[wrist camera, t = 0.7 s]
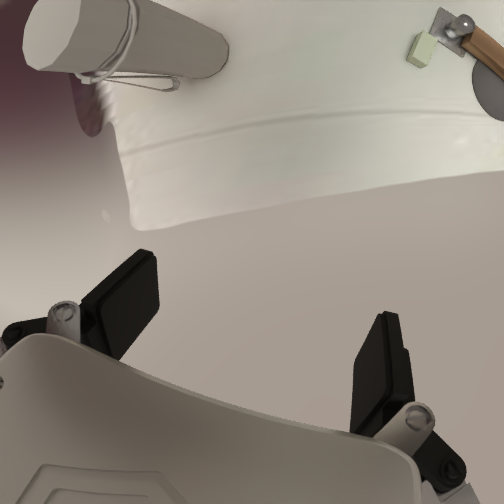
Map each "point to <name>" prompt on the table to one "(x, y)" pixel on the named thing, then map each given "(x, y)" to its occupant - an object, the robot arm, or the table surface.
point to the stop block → (422, 49)
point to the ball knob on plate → (452, 30)
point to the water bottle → (120, 40)
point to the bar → (485, 50)
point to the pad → (489, 90)
